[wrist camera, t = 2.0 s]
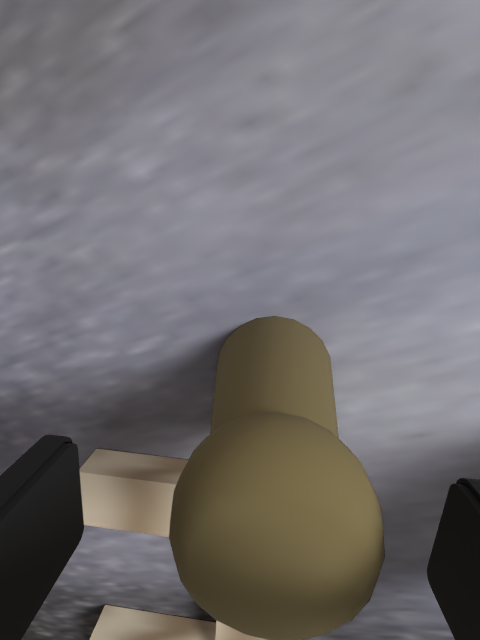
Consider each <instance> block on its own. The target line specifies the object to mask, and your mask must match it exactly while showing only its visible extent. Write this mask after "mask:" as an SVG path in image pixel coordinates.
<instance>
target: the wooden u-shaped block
mask: <svg viewBox="0 0 480 640" xmlns="http://www.w3.org/2000/svg"><path fill="white" fill-rule="evenodd" d="M187 462H188V460H186V459H178V458H170V457H162V456H153V455H145V454H137V453H129V452H120V451H112V450H104V449H96V450H95V451H94V452H93V454H92V455H91V456H90V457H89V458H88V460H87V461H86V462H85V463H84V464H83V466H82V467H81V468H80V469H79V471H80V483H81V495H82V507H83V520H84V525H88V526H96V527H103V528H110V529H117V530H124V531H131V532H138V533H145V534H152V535H160V536H167V537H169V529H170V517H171V509H172V501H173V493H174V489H175V487H176V484H177V482H178V480H179V477H180V475H181V473H182V471H183V469H184V467H185V466H186V464H187ZM90 640H267V639H263V638H258V637H254V636H250V635H246V634H243V633H241V632H239V631H237V630H235V629H233V628H231V627H229V626H227V625H225V624H223V623H221V622H219V621H217V620H216V622H209V621H203V620H197V619H191V618H184V617H178V616H172V615H166V614H159V613H153V612H147V611H141V610H134V609H128V608H122V607H116V606H109V605H105V606H104V609H103V611H102V613H101V615H100V617H99V619H98V622H97V624H96V626H95V628H94V630H93V633H92V635H91V637H90Z"/></svg>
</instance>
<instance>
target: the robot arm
mask: <svg viewBox="0 0 480 640" xmlns="http://www.w3.org/2000/svg"><path fill="white" fill-rule="evenodd" d="M83 530H84V520H83V507H82V495H81V483H80V471H79V458H78V448H77V445H76V444H73V443H72V440H71V438H69V437H64V436H54V435H45V436H44V437H42V438H41V439H40V440H39V441H38V442H37V443H35V444H34V445H33V446H32V447H31V448H30V449H29V450H28V451H27V452H26V453H25V454H23V455H22V456H21V457H20V458H19V459H18V460H17V461H16V462H15V463H14V464H13V465H11V466H10V467H9V468H8V469H7V470H6V471H5V472H4V473H3V474H2V475H1V476H0V640H21V639H22V637H23V635H24V634H25V632H26V630H27V629H28V627H29V625H30V624H31V622H32V620H33V619H34V617H35V615H36V614H37V612H38V610H39V609H40V607H41V605H42V604H43V602H44V600H45V599H46V597H47V595H48V594H49V592H50V590H51V589H52V587H53V585H54V584H55V582H56V581H57V579H58V577H59V576H60V574H61V572H62V571H63V569H64V567H65V566H66V564H67V562H68V561H69V559H70V557H71V556H72V554H73V552H74V551H75V549H76V547H77V546H78V544H79V542H80V540H81V537H82V534H83ZM427 575H428V580H429V584H430V586H431V589H432V591H433V593H434V595H435V597H436V600H437V602H438V604H439V606H440V608H441V610H442V612H443V615H444V617H445V619H446V621H447V623H448V625H449V628H450V630H451V632H452V634H453V636H454V638H455V640H480V480H477V479H467V478H460V479H459V480H458V481H457V483H456V484H452V485H451V486H450V488H449V492H448V495H447V499H446V502H445V506H444V510H443V513H442V517H441V520H440V524H439V527H438V531H437V535H436V538H435V542H434V545H433V549H432V552H431V556H430V559H429V563H428V567H427Z"/></svg>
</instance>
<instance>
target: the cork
mask: <svg viewBox="0 0 480 640" xmlns="http://www.w3.org/2000/svg"><path fill="white" fill-rule="evenodd" d="M169 539H170V543H171V547H172V551H173V555H174V559H175V563H176V566H177V570H178V573H179V576H180V580H181V582H182V583H183V585H184V586H185V588H186V589H187V591H188V592H189V594H190V595H191V597H192V598H193V600H194V602H195V603H196V604H198V605H199V606H200V607H201V608H202V609H204V610H205V611H206V612H207V613H208V614H209V615H211V616H212V617H213V618H214V619H215V620H217V621H219V622H221V623H223V624H225V625H227V626H229V627H231V628H233V629H235V630H237V631H239V632H241V633H243V634H246V635H250V636H254V637H258V638H263V639H267V640H302V639H306V638H310V637H315V636H319V635H323V634H327V633H330V632H331V631H333V630H335V629H337V628H338V627H340V626H342V625H344V624H345V623H347V622H349V621H351V620H353V619H354V617H355V616H356V615H357V614H358V613H359V612H360V611H361V610H362V608H363V607H364V606H365V605H366V604H367V603H368V602H369V601H370V599H371V596H372V593H373V590H374V587H375V585H376V582H377V579H378V576H379V573H380V570H381V567H382V564H383V560H384V557H385V550H384V535H383V522H382V511H381V505H380V503H379V500H378V498H377V496H376V493H375V491H374V489H373V487H372V484H371V482H370V480H369V478H368V476H367V474H366V472H365V470H364V468H363V466H362V464H361V462H360V461H359V460H358V458H357V457H356V456H355V455H354V454H353V453H352V452H351V450H350V449H349V448H348V447H347V446H346V445H345V444H344V443H343V442H342V441H341V440H340V439H339V437H338V427H337V418H336V408H335V399H334V389H333V380H332V370H331V361H330V356H329V354H328V352H327V349H326V347H325V345H324V343H323V341H322V340H321V339H320V338H319V337H318V336H317V335H316V334H315V333H314V332H313V331H312V330H311V329H310V328H309V327H307V326H305V325H303V324H301V323H299V322H297V321H295V320H294V319H288V318H283V317H277V316H272V317H264V318H256V319H254V320H252V321H250V322H248V323H245V324H243V325H241V326H239V327H238V328H237V329H236V330H235V331H234V332H233V333H232V334H231V335H230V336H229V337H228V338H227V339H226V341H225V343H224V345H223V347H222V349H221V350H220V352H219V357H218V364H217V370H216V381H215V391H214V401H213V411H212V421H211V431H210V435H209V436H208V437H207V438H206V439H204V440H203V441H202V442H201V443H200V445H199V446H198V447H197V448H196V449H195V450H194V451H193V453H192V455H191V457H190V458H189V460H188V462H187V464H186V466H185V467H184V469H183V471H182V473H181V475H180V477H179V480H178V482H177V484H176V487H175V489H174V493H173V501H172V509H171V517H170V529H169Z"/></svg>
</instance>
